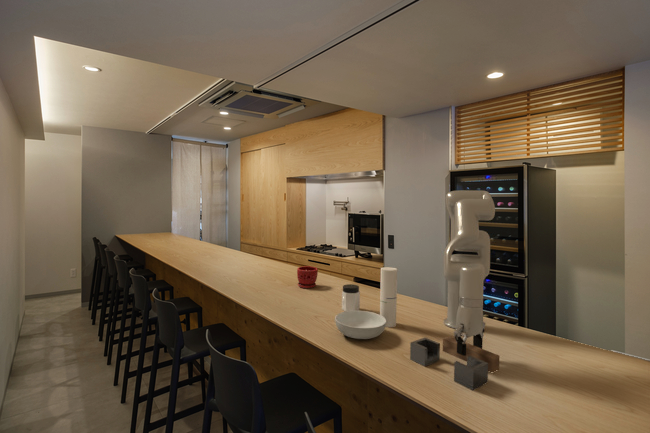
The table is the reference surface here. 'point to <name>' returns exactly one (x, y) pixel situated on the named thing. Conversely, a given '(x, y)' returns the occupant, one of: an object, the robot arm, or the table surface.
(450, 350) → the walnut rail
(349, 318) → the serving bowl
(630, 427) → the table surface
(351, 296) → the jar
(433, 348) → the bracket
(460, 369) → the bracket
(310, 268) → the plant pot
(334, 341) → the table surface
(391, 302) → the cylindrical container
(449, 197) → the robot arm
